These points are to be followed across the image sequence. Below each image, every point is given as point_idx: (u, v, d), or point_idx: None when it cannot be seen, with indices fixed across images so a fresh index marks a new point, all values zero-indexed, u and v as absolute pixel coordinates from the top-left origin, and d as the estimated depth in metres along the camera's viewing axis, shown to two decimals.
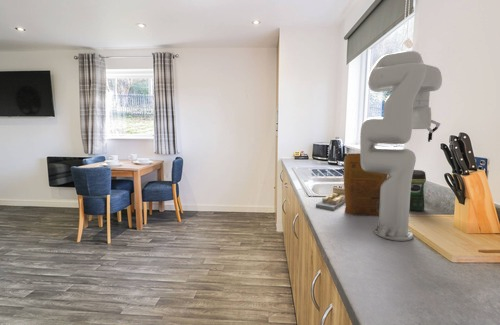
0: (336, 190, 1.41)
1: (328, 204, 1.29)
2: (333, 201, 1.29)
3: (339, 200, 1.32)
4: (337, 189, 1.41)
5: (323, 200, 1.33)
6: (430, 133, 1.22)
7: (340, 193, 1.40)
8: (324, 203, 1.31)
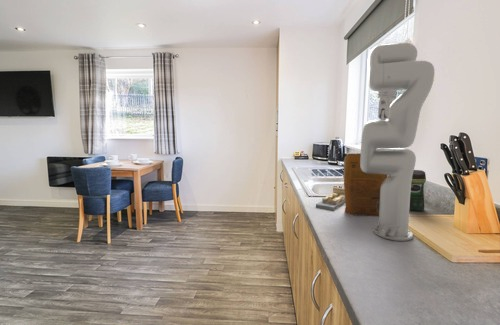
0: (336, 190, 1.41)
1: (328, 204, 1.29)
2: (333, 201, 1.29)
3: (339, 200, 1.32)
4: (337, 189, 1.41)
5: (323, 200, 1.33)
6: None
7: (340, 193, 1.40)
8: (324, 203, 1.31)
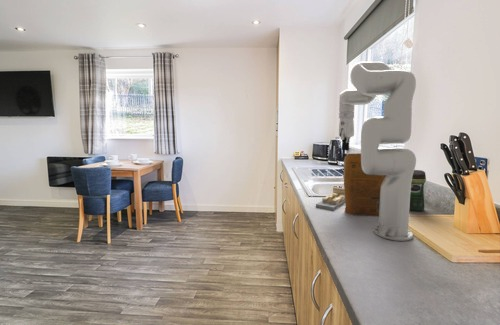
0: (336, 190, 1.41)
1: (328, 204, 1.29)
2: (333, 201, 1.29)
3: (339, 200, 1.32)
4: (337, 189, 1.41)
5: (323, 200, 1.33)
6: None
7: (340, 193, 1.40)
8: (324, 203, 1.31)
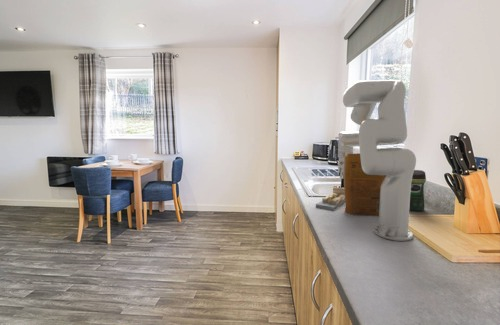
0: (336, 190, 1.41)
1: (328, 204, 1.29)
2: (333, 201, 1.29)
3: (339, 200, 1.32)
4: (337, 189, 1.41)
5: (323, 200, 1.33)
6: None
7: (340, 193, 1.40)
8: (324, 203, 1.31)
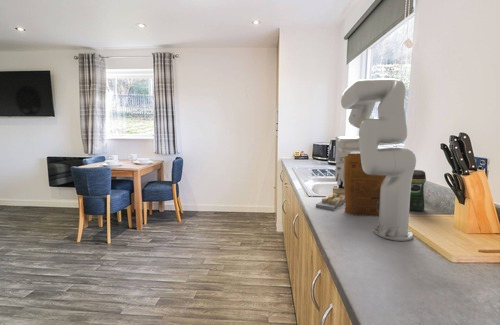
0: (336, 190, 1.41)
1: (328, 204, 1.29)
2: (333, 201, 1.29)
3: (339, 200, 1.32)
4: (337, 189, 1.41)
5: (323, 200, 1.33)
6: None
7: (340, 193, 1.40)
8: (324, 203, 1.31)
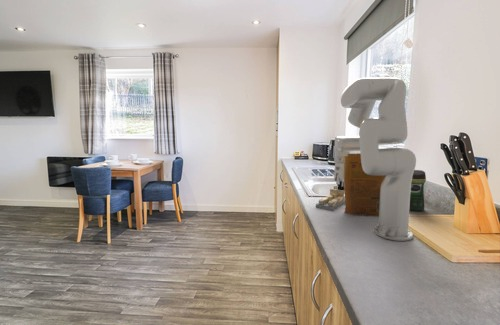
0: (333, 192, 1.38)
1: None
2: (330, 203, 1.26)
3: (336, 202, 1.29)
4: (334, 191, 1.38)
5: (319, 202, 1.30)
6: None
7: (337, 195, 1.37)
8: None
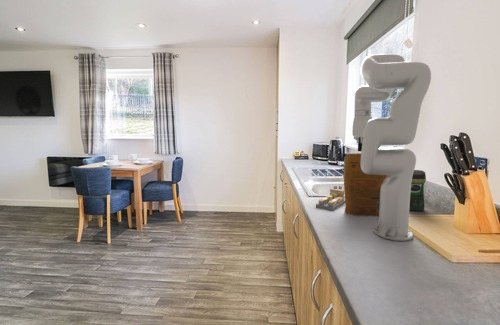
0: (333, 192, 1.38)
1: None
2: (330, 203, 1.26)
3: (336, 202, 1.29)
4: (334, 191, 1.38)
5: (319, 202, 1.30)
6: None
7: (337, 195, 1.37)
8: None
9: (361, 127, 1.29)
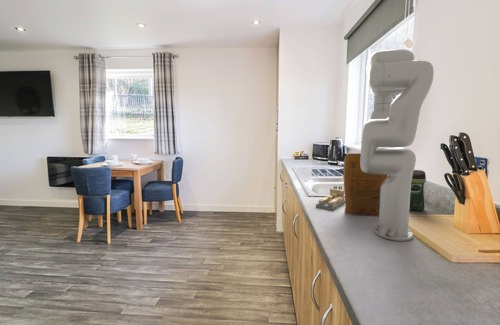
0: (333, 192, 1.38)
1: None
2: (330, 203, 1.26)
3: (336, 202, 1.29)
4: (334, 191, 1.38)
5: (319, 202, 1.30)
6: None
7: (337, 195, 1.37)
8: None
9: None
